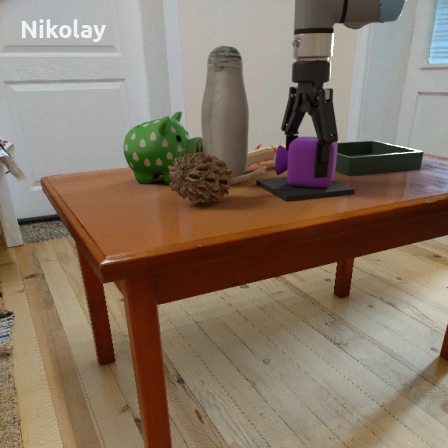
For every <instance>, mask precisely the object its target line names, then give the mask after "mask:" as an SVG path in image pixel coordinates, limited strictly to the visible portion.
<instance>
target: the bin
mask: <svg viewBox="0 0 448 448" xmlns="http://www.w3.org/2000/svg"><path fill="white" fill-rule="evenodd" d="M337 143H338V148H337V158H336V168H335V172H337V173H340V174H342V175H344V176H347V177H352V176H361V175H372V174H380V173H381V174H382V173H392V172H401V171H411V170H412V171H413V170H421V168H422V162H423V158H424V154H425V153H424V152H425V151H423V150H419V149H414V148H411V147H405V146H400V145H396V144H391V143H388V142H383V141H379V140H375V139H374V140H373V139H371V140H356V141H343V142H337Z"/></svg>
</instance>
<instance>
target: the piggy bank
mask: <svg viewBox="0 0 448 448" xmlns="http://www.w3.org/2000/svg"><path fill="white" fill-rule="evenodd" d="M182 114H183V112H182V111H176V112H174V114H173V115H172V116H171V117H170V116H169V115H167V116H166V115H165V116H162V117H161V118H156V119H154V120H153V119H152V120H150V121H144V122H142V123H141V124H137V125H135V126H133V127H132V128H131V129H129V131H128V132H127V133H126V134H125V137H124V139H123V140H124V141H123V156H124V159H125V162H126V163H127V164H128V167H129V168H130V170H132V172H133V174H134V178H135V181H137V183H138V184H145V185H146V184H147V185H149V184H151V183H153V182H154V181H155V179H158V178H160V177H162V181H163V182H164V183H165V184H166V185H169V184H170V183H171V179H170V177H169V175H171V174H170V173H169V172H171V171H170V170H169V168H168V167H169V166H172V165H174V164H173V161H174V162H175V160H174V159H175V158H179V156H182V157H184V154H189V153H192V154H193V155H194V153H197V152H199V153H200V152H203V144H202V136H194V137H192V138H191V137H190V135H189V132H188V131H187V130H186V129H185V127H184V126H183V125H182V124H181V123H180V122H181V120H182V119H181V118H182V116H183V115H182Z"/></svg>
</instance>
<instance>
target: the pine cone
mask: <svg viewBox="0 0 448 448" xmlns="http://www.w3.org/2000/svg"><path fill="white" fill-rule="evenodd" d="M174 160H175V162H174V161H173V164H174V165H172V166H169V167H168V168H169V170H170V171H171V172H169V173H170V174H171V175H169V177H170V179H171V183H170V184H168V186H169V188H170V191H171V192H176V194H177V195H178V197H181V199H183V200H185V199H186V198H188V201H189V202H195V203H197V202H199V200H200V201H201V202H202V203H203V204H205V203H208V202H210V201H212V200H213V201H214V202H216V201H223V199H224V197H225V195H226V196H228V195H229V194H230V191H229V190H231V186H233V185H235V184H240V183H245V182H247V181H250V180H254V179H256V178H259V177H261V176H264V175H268V172H267V169H270V166H269V167H268V165H264V166H262V165H261V166H259V168H257V169H256V170H254V171H251V172H249V173H246V174H243V175H242V176H239V177H234V178H233V177H232V176H230V175H231V174H232V170H228V167H227V165H226V164H225V162H224V161H222V160H220V161H219V159H218V158H217V157H216V156H212V157H211V156H210V155H207V157H206V155H205V153H204V152H200V153H199V152H197V153H194V155H193V154H192V153H189V154H184V157H182V156H179V158H175V159H174Z"/></svg>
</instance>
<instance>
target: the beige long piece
mask: <svg viewBox="0 0 448 448" xmlns="http://www.w3.org/2000/svg"><path fill="white" fill-rule="evenodd" d="M279 145H281V146H283V147H284V148H285V147H286V144H277V145H271V146H268V147H261V146H262V143H260V144H258V145H257V146H256V147H255V148H254V149H253V150H250V151H248V161H247V167H246V169H247V168H250V167H251V166H253V165H258V166H259V167H261V166H262V165H261V164H260V163H262V162H268V161H273V160H274V156H275V154H276V152H277V148H278V146H279ZM273 169H274V170H275V166H273Z"/></svg>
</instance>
